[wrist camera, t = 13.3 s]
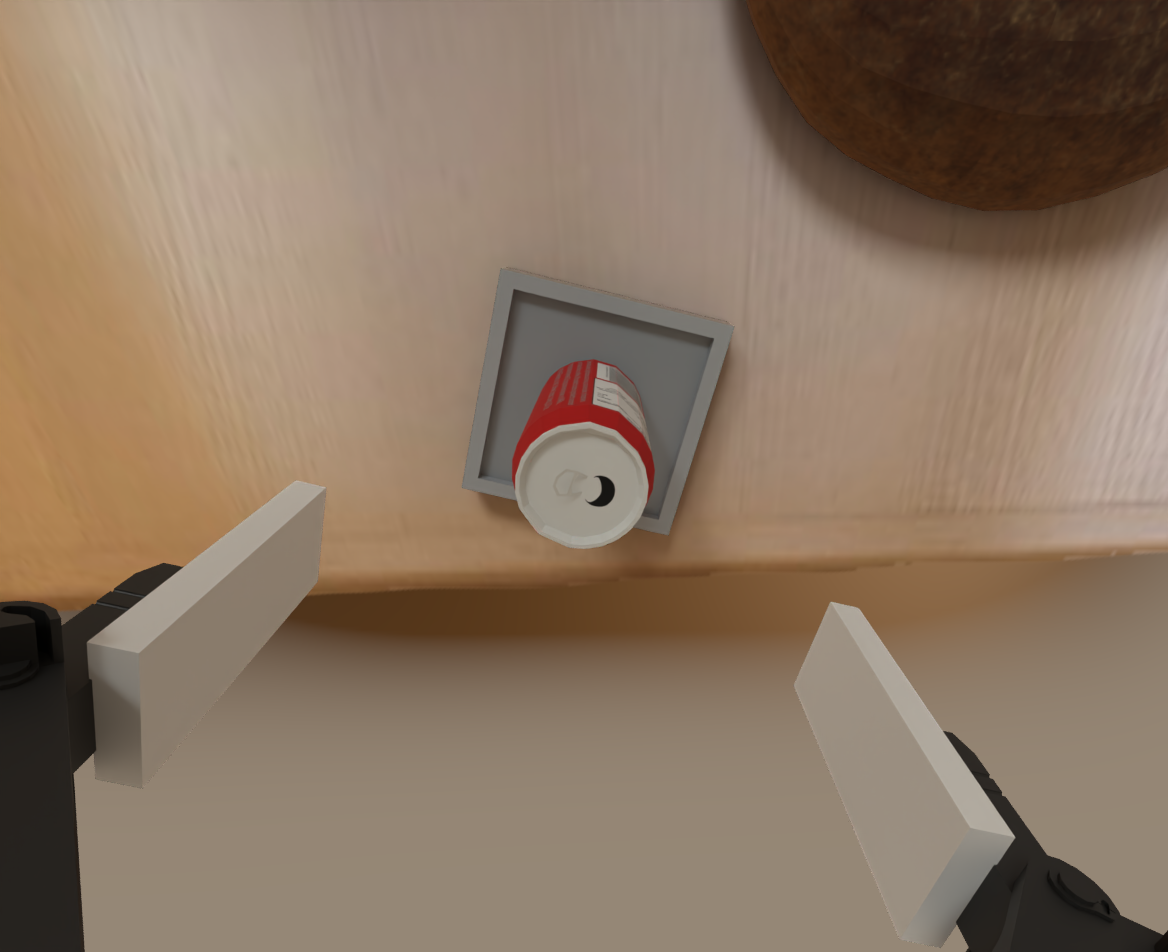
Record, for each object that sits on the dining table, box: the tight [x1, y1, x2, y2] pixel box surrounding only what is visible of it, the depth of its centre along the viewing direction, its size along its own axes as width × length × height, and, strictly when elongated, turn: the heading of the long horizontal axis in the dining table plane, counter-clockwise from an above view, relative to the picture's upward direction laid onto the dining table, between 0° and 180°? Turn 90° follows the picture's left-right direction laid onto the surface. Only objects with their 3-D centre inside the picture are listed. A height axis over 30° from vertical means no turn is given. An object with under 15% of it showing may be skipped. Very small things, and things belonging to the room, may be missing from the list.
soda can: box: [512, 359, 655, 549], centre depth 28 cm, size 6×6×12 cm
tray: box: [462, 267, 734, 535], centre depth 34 cm, size 12×12×2 cm
